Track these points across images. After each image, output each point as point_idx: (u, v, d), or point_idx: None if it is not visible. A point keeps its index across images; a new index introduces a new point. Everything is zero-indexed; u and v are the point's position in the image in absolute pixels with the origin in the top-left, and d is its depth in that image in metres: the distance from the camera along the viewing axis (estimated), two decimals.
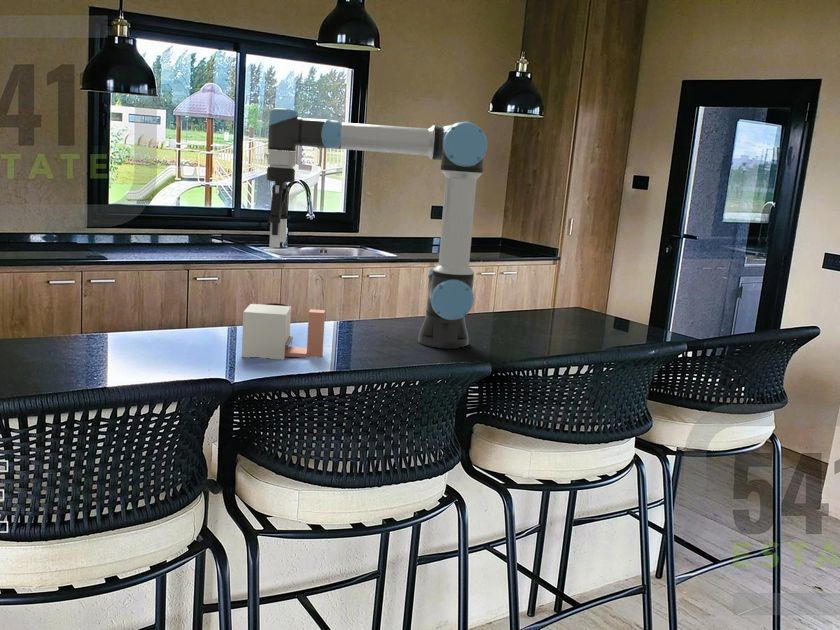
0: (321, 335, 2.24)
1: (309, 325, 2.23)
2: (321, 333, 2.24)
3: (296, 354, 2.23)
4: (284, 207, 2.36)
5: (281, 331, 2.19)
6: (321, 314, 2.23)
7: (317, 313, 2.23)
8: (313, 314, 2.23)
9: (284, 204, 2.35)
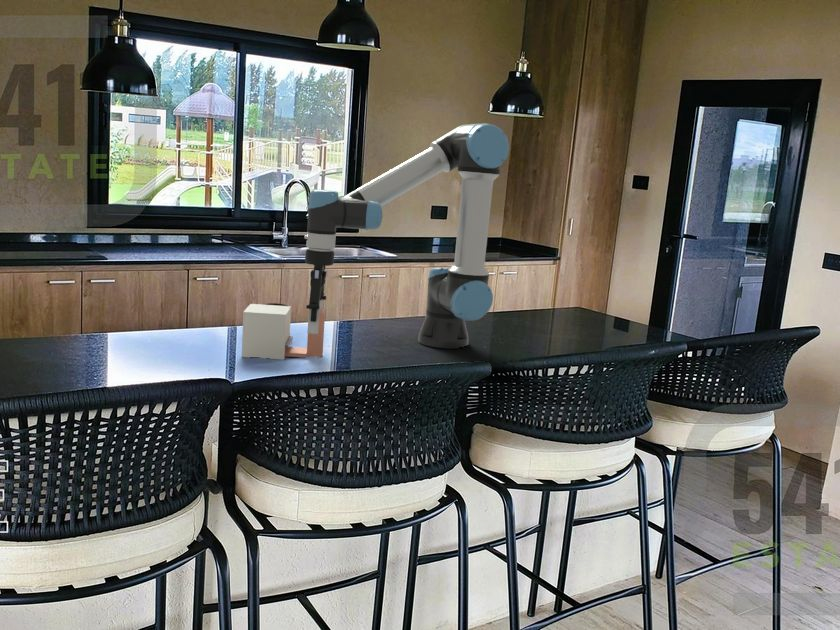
0: (321, 335, 2.24)
1: None
2: (321, 333, 2.24)
3: (296, 354, 2.23)
4: (321, 289, 2.28)
5: (281, 331, 2.19)
6: (321, 314, 2.23)
7: None
8: None
9: None
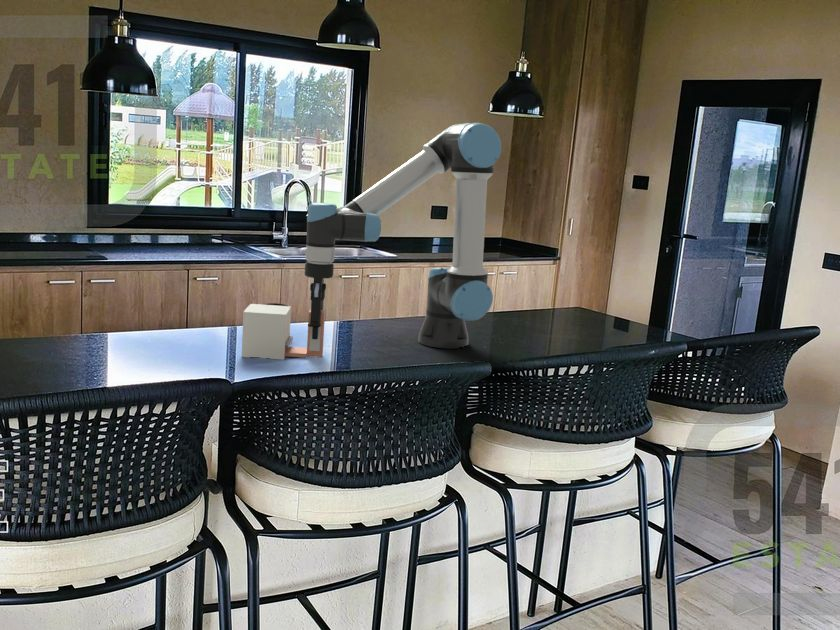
0: (321, 335, 2.24)
1: None
2: (321, 333, 2.24)
3: (296, 354, 2.23)
4: (320, 306, 2.26)
5: (281, 331, 2.19)
6: (321, 314, 2.23)
7: None
8: None
9: (321, 302, 2.26)
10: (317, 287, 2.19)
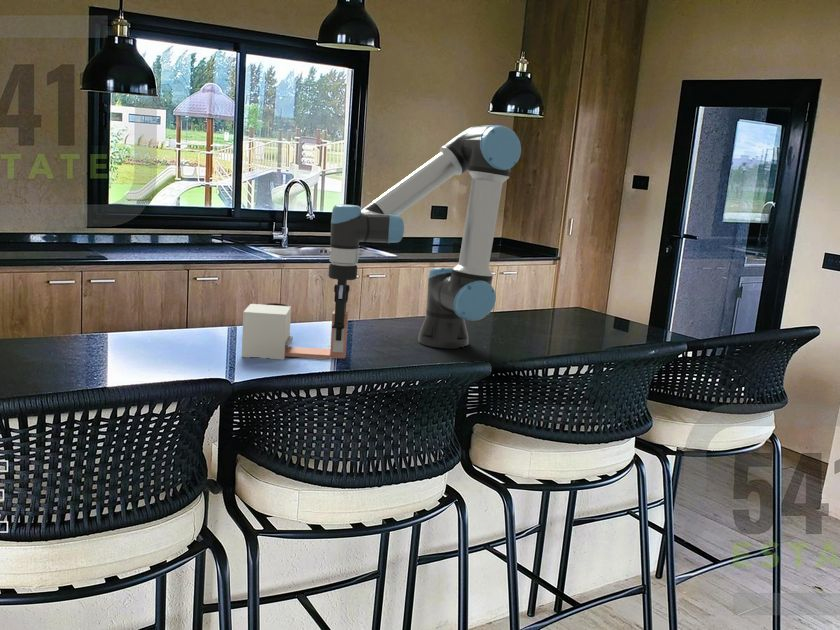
0: (344, 336, 2.24)
1: None
2: (344, 334, 2.24)
3: (320, 355, 2.23)
4: None
5: (281, 331, 2.19)
6: (345, 316, 2.23)
7: None
8: None
9: (344, 304, 2.26)
10: (341, 289, 2.19)
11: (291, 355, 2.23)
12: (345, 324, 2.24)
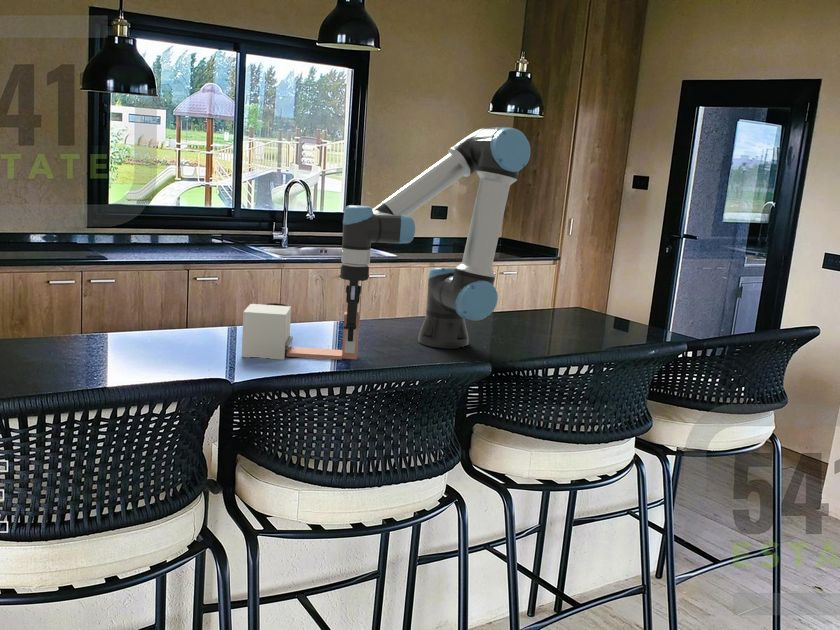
0: (356, 337, 2.24)
1: None
2: (356, 335, 2.24)
3: (331, 356, 2.24)
4: None
5: (281, 331, 2.19)
6: (356, 316, 2.23)
7: None
8: None
9: None
10: (353, 289, 2.19)
11: (303, 356, 2.23)
12: (357, 325, 2.24)
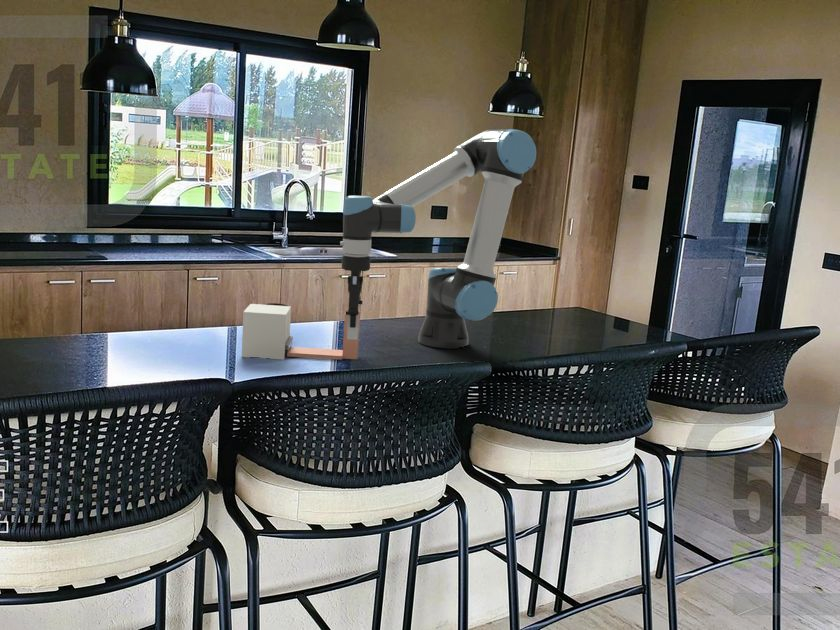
0: None
1: (345, 327, 2.24)
2: None
3: (332, 356, 2.24)
4: None
5: (281, 331, 2.19)
6: None
7: None
8: None
9: None
10: None
11: (303, 356, 2.23)
12: None
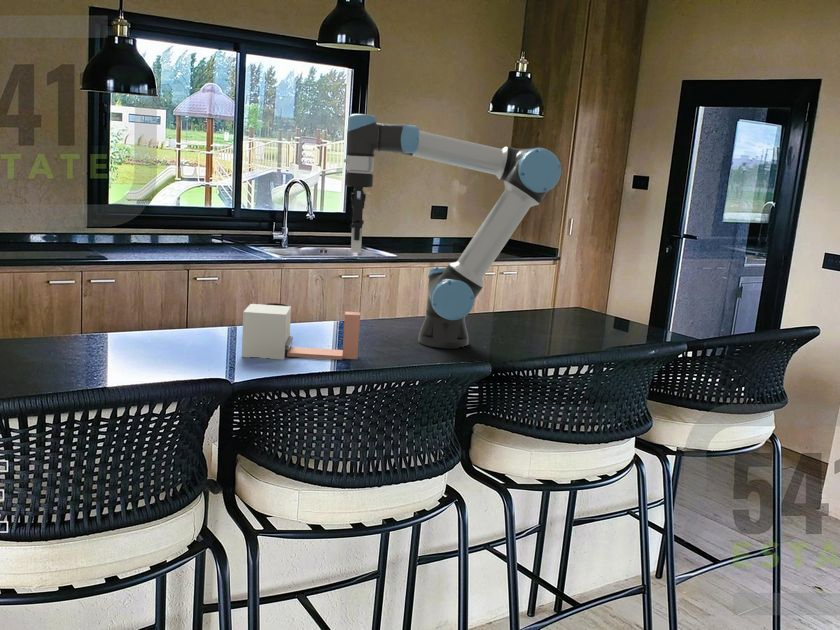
0: (357, 337, 2.24)
1: (345, 327, 2.24)
2: (357, 335, 2.24)
3: (332, 356, 2.24)
4: None
5: (281, 331, 2.19)
6: (357, 316, 2.23)
7: (353, 315, 2.23)
8: (349, 316, 2.23)
9: None
10: None
11: (303, 356, 2.23)
12: (357, 325, 2.24)
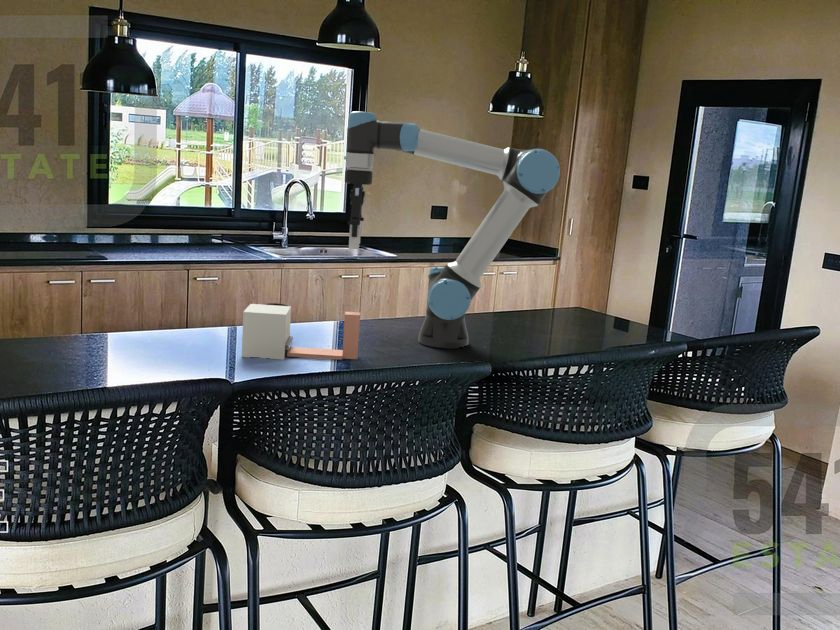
0: (357, 337, 2.24)
1: (345, 327, 2.24)
2: (357, 335, 2.24)
3: (332, 356, 2.24)
4: (360, 209, 2.39)
5: (281, 331, 2.19)
6: (357, 316, 2.23)
7: (353, 315, 2.23)
8: (349, 316, 2.23)
9: None
10: None
11: (303, 356, 2.23)
12: (357, 325, 2.24)
